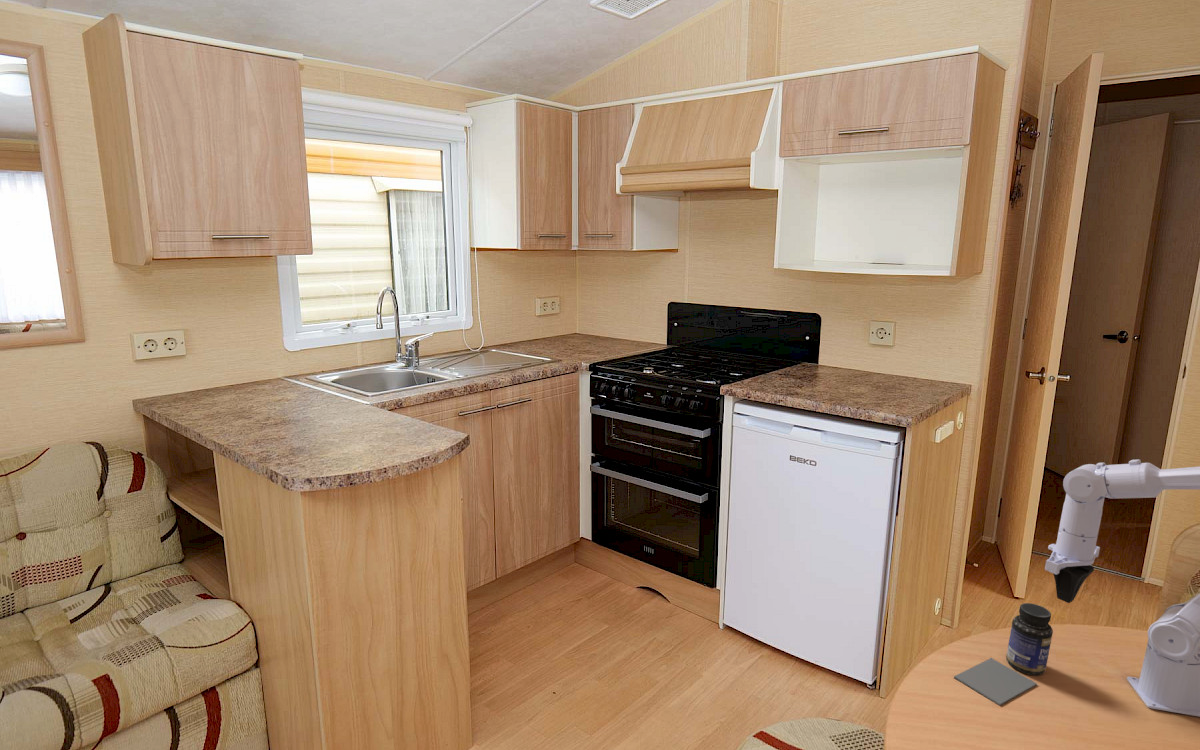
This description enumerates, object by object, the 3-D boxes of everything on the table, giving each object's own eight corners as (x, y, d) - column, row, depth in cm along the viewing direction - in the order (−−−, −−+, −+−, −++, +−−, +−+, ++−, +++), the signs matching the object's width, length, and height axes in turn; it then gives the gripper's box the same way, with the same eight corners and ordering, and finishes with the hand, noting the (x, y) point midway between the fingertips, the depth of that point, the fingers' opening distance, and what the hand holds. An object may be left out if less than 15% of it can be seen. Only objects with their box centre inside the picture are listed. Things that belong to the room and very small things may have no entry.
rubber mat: (990, 659, 126) (991, 657, 126) (1036, 684, 119) (1036, 683, 119) (953, 677, 120) (954, 676, 120) (999, 705, 113) (999, 704, 113)
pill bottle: (1043, 681, 120) (1054, 624, 118) (1003, 667, 124) (1013, 611, 121) (1046, 664, 125) (1057, 608, 122) (1008, 650, 128) (1017, 596, 126)
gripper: (1075, 514, 131) (1062, 580, 134) (1032, 529, 124) (1020, 599, 127) (1117, 529, 125) (1103, 597, 128) (1075, 546, 118) (1061, 618, 121)
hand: (1064, 599), depth 127 cm, fingers closed
